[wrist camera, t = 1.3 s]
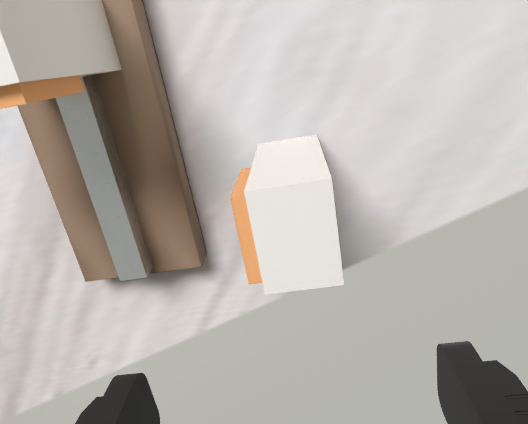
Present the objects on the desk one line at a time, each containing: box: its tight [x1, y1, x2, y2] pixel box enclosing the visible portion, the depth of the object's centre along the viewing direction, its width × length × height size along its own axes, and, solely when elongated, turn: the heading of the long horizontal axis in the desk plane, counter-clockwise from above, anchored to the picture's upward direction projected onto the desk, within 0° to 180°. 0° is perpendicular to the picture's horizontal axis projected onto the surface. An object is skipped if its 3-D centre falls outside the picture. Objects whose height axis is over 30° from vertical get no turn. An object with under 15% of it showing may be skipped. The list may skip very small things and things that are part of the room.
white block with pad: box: [230, 134, 344, 294], centre depth 24 cm, size 6×5×10 cm
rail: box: [0, 0, 206, 282], centre depth 22 cm, size 9×20×12 cm, turn 10°
